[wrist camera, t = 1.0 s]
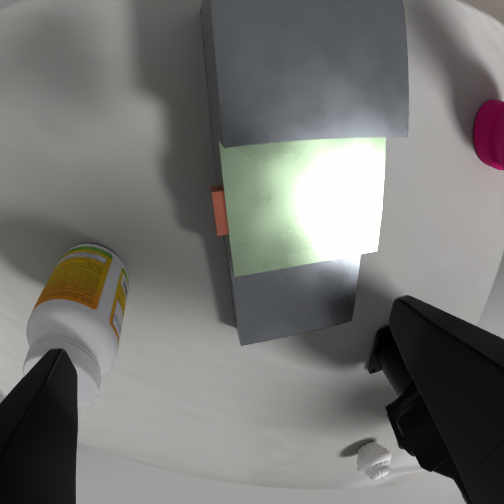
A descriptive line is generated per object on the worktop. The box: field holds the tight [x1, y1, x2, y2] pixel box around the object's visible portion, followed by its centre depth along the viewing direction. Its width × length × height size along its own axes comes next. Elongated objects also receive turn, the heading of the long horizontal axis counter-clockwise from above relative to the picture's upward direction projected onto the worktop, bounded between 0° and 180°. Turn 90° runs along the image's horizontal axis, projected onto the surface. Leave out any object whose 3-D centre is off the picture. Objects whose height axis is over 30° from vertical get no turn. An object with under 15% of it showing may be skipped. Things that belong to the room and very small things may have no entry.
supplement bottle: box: [23, 244, 129, 408], centre depth 16 cm, size 5×5×10 cm
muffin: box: [357, 442, 392, 480], centre depth 42 cm, size 6×6×7 cm
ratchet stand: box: [201, 0, 409, 346], centre depth 18 cm, size 22×10×6 cm, turn 4°
